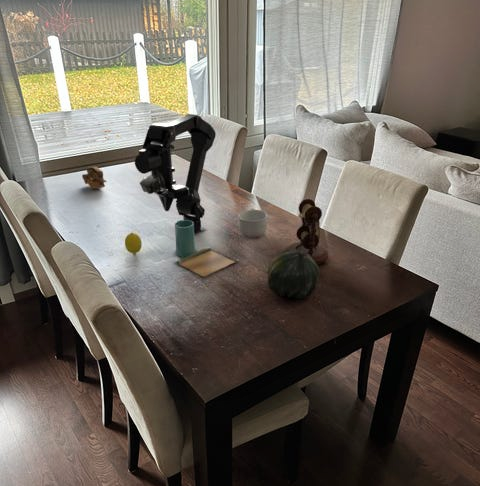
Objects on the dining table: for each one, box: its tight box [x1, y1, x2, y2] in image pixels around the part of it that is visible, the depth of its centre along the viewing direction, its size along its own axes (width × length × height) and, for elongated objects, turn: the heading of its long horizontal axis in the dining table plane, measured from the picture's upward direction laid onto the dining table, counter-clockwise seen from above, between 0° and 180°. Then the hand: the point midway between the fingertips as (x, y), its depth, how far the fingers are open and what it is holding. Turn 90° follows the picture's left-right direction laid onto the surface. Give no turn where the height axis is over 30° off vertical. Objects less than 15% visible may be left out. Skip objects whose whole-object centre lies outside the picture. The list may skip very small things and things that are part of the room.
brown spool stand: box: [283, 198, 329, 265], centre depth 143 cm, size 15×15×20 cm
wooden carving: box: [81, 166, 107, 190], centre depth 205 cm, size 16×5×10 cm, turn 55°
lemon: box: [124, 232, 143, 255], centre depth 148 cm, size 6×6×8 cm
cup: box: [174, 219, 196, 258], centre depth 148 cm, size 6×6×11 cm
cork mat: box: [176, 246, 236, 278], centre depth 144 cm, size 13×14×1 cm
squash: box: [267, 251, 320, 300], centre depth 126 cm, size 14×15×15 cm
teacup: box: [237, 207, 269, 238], centre depth 164 cm, size 14×11×8 cm
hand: (167, 210), depth 149 cm, fingers closed
